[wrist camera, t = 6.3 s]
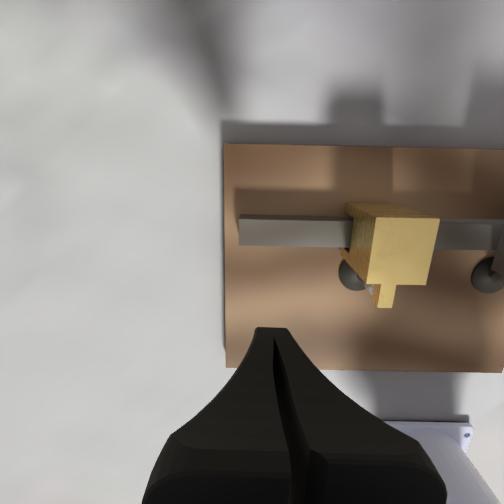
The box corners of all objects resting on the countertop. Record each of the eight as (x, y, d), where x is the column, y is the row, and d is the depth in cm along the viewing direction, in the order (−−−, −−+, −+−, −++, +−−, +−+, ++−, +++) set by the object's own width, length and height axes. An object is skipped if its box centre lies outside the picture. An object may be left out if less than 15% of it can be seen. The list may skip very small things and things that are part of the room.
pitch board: (489, 362, 23) (579, 440, 17) (227, 357, 23) (217, 433, 17) (557, 151, 19) (720, 148, 12) (225, 144, 19) (210, 137, 12)
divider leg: (382, 279, 20) (418, 314, 15) (337, 278, 20) (361, 313, 15) (395, 203, 18) (440, 218, 14) (346, 202, 18) (376, 217, 14)
